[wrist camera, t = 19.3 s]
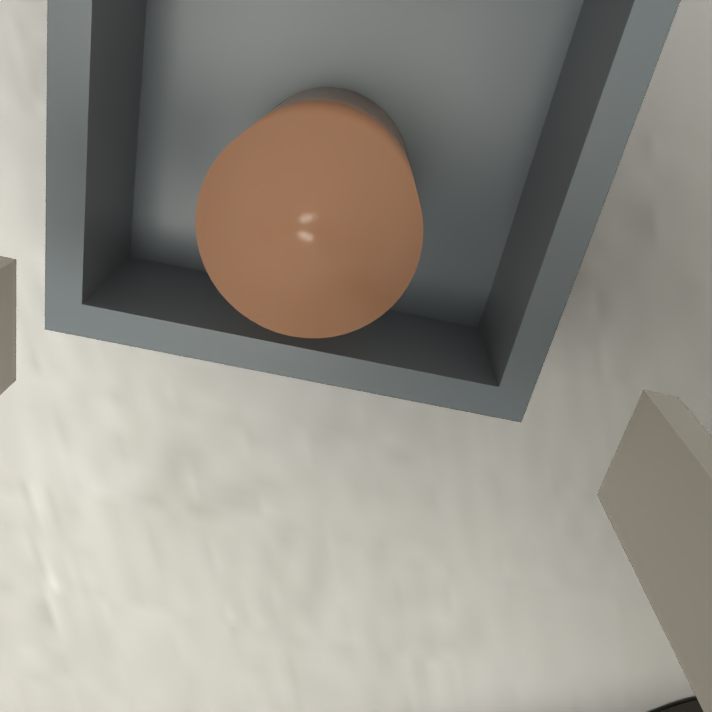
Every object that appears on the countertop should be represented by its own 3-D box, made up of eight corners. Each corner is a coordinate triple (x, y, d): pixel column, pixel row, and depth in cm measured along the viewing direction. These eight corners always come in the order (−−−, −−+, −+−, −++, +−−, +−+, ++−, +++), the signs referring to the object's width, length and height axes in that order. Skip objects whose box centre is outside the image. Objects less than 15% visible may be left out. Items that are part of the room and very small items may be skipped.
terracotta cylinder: (427, 107, 20) (449, 144, 14) (388, 264, 22) (393, 357, 16) (261, 69, 20) (209, 89, 14) (238, 232, 22) (184, 314, 16)
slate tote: (709, -291, 17) (832, -402, 12) (494, 349, 25) (521, 422, 20) (142, -452, 16) (52, -636, 11) (106, 270, 24) (45, 329, 19)
